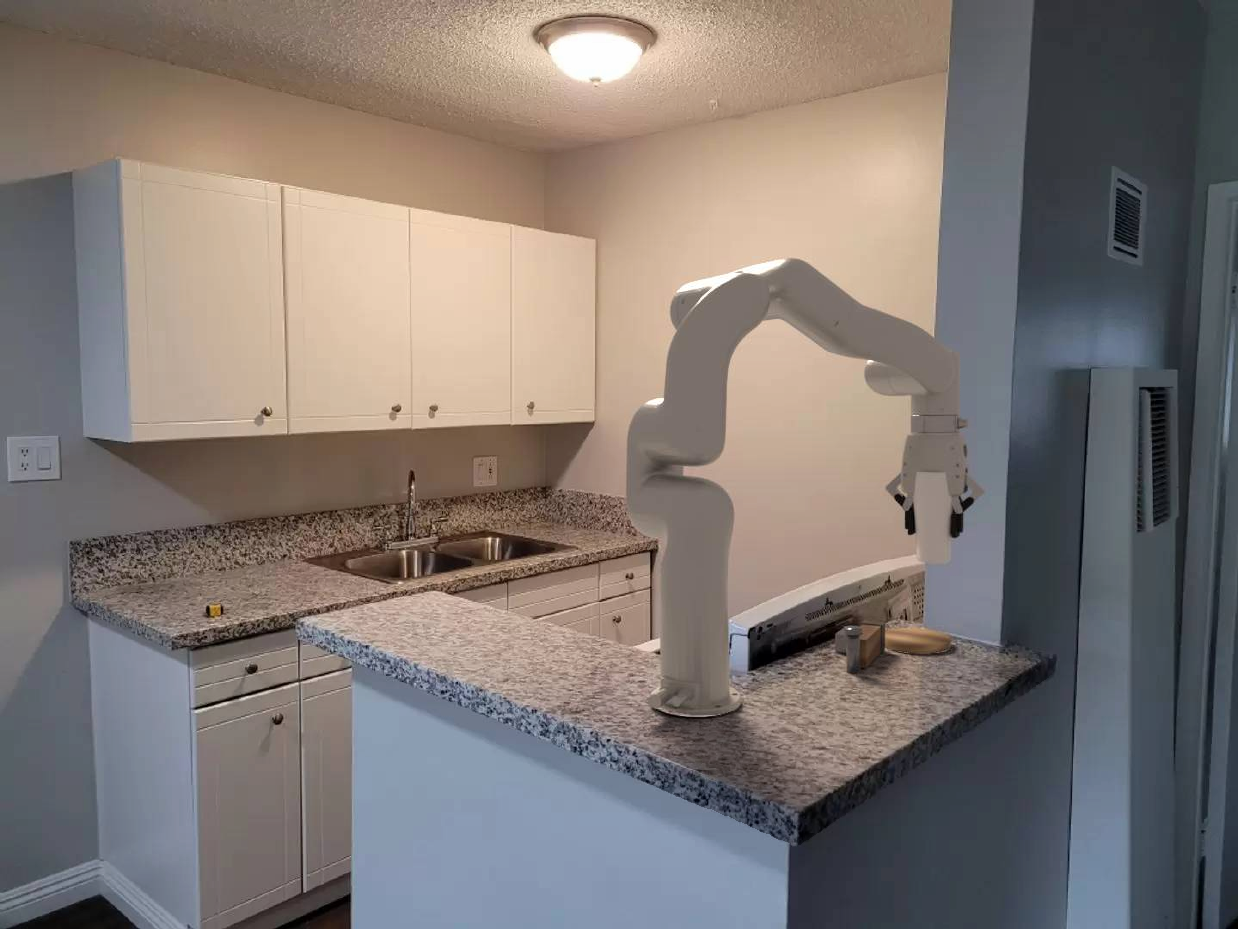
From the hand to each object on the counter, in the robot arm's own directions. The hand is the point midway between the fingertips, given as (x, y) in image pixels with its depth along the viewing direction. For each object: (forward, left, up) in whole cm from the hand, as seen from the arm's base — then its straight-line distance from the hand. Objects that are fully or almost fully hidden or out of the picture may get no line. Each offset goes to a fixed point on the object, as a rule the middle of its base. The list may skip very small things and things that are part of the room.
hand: (933, 534), depth 147 cm
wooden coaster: (+1, +3, -19) cm, 19 cm away
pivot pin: (-18, +8, -19) cm, 28 cm away
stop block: (-7, +12, -19) cm, 24 cm away
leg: (-11, +8, -19) cm, 23 cm away
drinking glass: (0, 0, -5) cm, 5 cm away
